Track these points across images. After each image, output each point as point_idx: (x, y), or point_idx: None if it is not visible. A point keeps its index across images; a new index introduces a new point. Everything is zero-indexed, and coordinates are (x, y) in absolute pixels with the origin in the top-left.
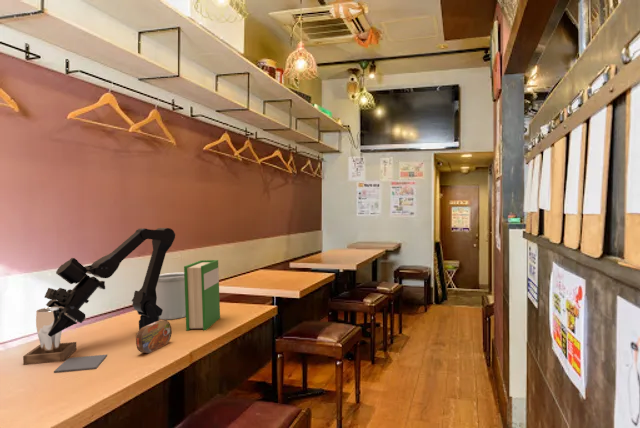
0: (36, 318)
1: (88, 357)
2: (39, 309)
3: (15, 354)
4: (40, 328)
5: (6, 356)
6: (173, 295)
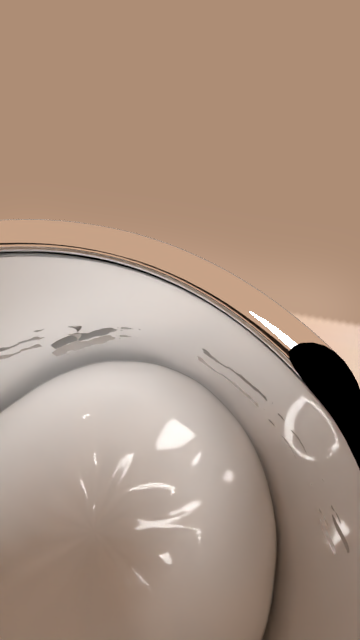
0: (91, 308)
1: None
2: (296, 346)
3: (340, 356)
4: (50, 378)
5: (332, 324)
6: None
